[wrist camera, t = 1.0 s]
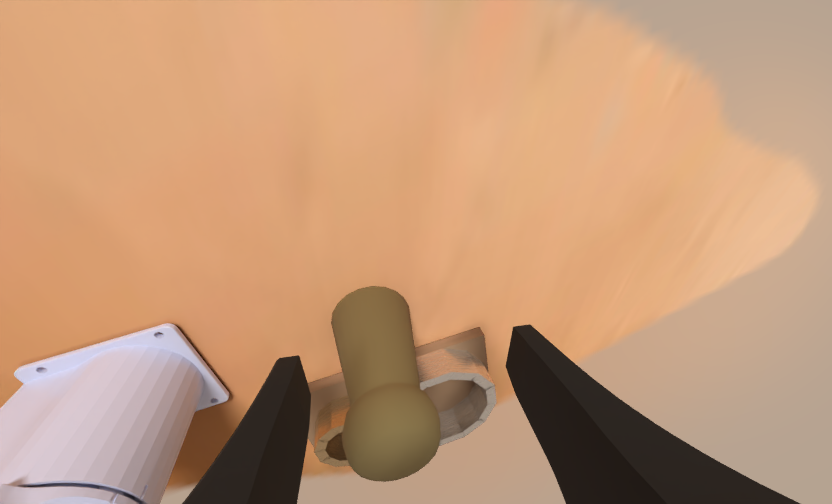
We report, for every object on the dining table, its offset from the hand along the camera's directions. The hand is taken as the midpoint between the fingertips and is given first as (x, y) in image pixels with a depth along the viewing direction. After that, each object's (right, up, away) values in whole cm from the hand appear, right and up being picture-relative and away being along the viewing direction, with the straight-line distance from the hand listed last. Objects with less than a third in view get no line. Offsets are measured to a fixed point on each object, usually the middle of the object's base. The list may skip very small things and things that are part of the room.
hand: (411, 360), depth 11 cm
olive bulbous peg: (-3, -1, +14) cm, 15 cm away
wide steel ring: (+2, -9, +18) cm, 20 cm away
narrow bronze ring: (-6, -11, +17) cm, 21 cm away
